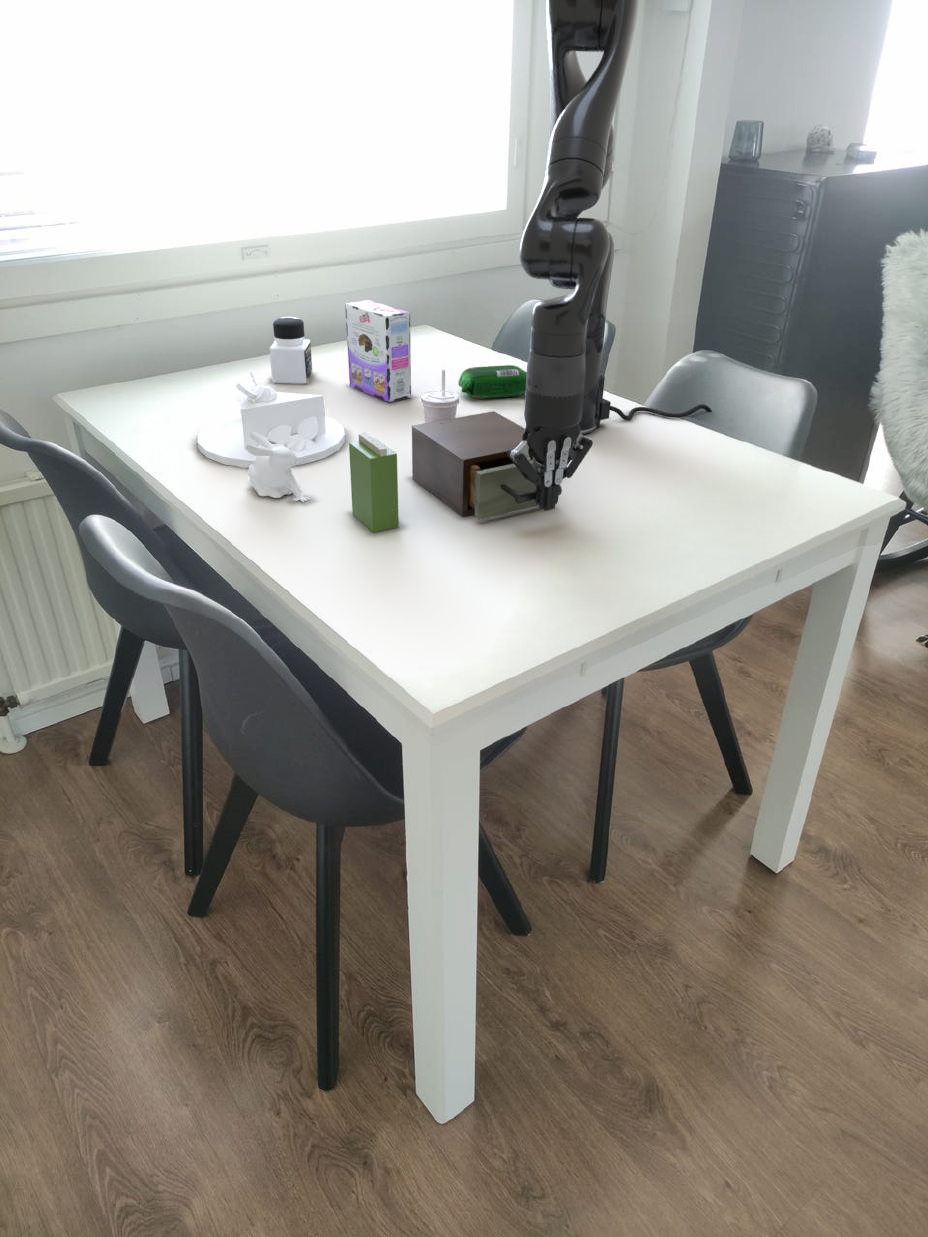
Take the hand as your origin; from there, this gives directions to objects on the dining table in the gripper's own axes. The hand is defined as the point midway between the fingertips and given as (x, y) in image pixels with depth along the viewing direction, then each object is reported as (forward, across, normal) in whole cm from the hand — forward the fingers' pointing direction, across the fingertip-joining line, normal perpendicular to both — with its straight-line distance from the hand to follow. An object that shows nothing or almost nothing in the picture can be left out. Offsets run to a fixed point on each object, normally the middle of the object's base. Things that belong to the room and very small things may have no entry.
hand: (546, 507), depth 127 cm
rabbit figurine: (+4, -29, +31) cm, 43 cm away
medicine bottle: (+4, -5, +84) cm, 84 cm away
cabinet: (+4, 0, +18) cm, 18 cm away
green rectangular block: (+4, -19, +15) cm, 25 cm away
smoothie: (+4, +2, +34) cm, 34 cm away
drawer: (+3, 0, +11) cm, 11 cm away
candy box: (+4, +7, +68) cm, 68 cm away
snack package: (+4, +27, +56) cm, 62 cm away
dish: (+4, -21, +52) cm, 56 cm away
